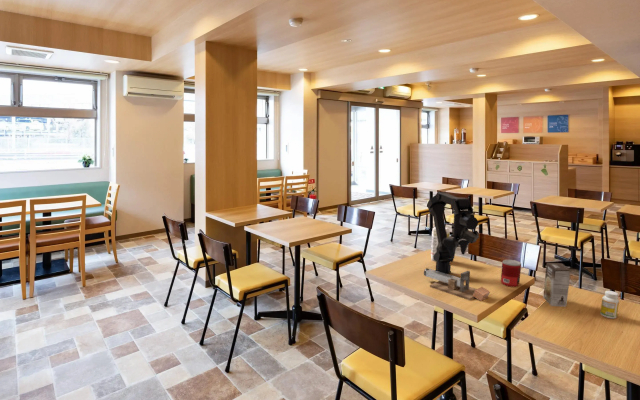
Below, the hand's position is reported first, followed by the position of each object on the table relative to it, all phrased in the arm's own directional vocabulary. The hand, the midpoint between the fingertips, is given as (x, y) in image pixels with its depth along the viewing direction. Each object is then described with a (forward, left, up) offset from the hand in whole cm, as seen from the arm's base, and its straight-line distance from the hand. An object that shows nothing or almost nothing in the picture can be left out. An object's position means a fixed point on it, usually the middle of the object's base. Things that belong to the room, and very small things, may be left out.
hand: (457, 256), depth 187 cm
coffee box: (+39, +11, -13) cm, 43 cm away
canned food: (+18, +17, -13) cm, 28 cm away
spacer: (+17, -9, -10) cm, 22 cm away
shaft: (-2, -9, -11) cm, 14 cm away
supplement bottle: (+58, +13, -13) cm, 61 cm away
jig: (+5, -9, -13) cm, 17 cm away
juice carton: (-24, +23, -13) cm, 36 cm away
